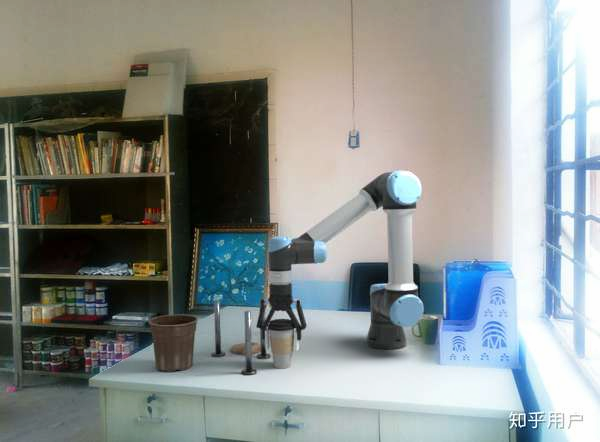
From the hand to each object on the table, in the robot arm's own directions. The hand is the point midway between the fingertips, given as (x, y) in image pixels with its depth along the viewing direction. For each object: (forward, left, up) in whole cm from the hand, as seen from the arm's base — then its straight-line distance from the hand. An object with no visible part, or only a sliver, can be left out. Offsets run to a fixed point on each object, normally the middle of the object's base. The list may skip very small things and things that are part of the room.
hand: (282, 349), depth 178 cm
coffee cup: (0, 0, -6) cm, 6 cm away
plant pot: (+36, +6, -6) cm, 37 cm away
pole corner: (+9, -9, -6) cm, 14 cm away
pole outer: (+9, +8, -6) cm, 14 cm away
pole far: (+26, -9, -6) cm, 28 cm away
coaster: (+17, -16, -6) cm, 24 cm away
